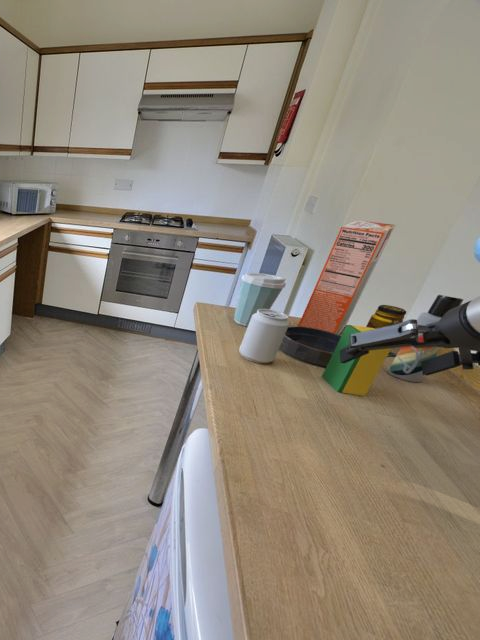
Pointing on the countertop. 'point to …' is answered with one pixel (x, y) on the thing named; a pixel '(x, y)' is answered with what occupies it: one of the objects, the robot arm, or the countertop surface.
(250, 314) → the disposable coffee cup
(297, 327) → the bowl
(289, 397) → the countertop surface
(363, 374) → the sponge
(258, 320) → the can
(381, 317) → the condiment
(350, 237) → the cereal box
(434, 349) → the striped water bottle
